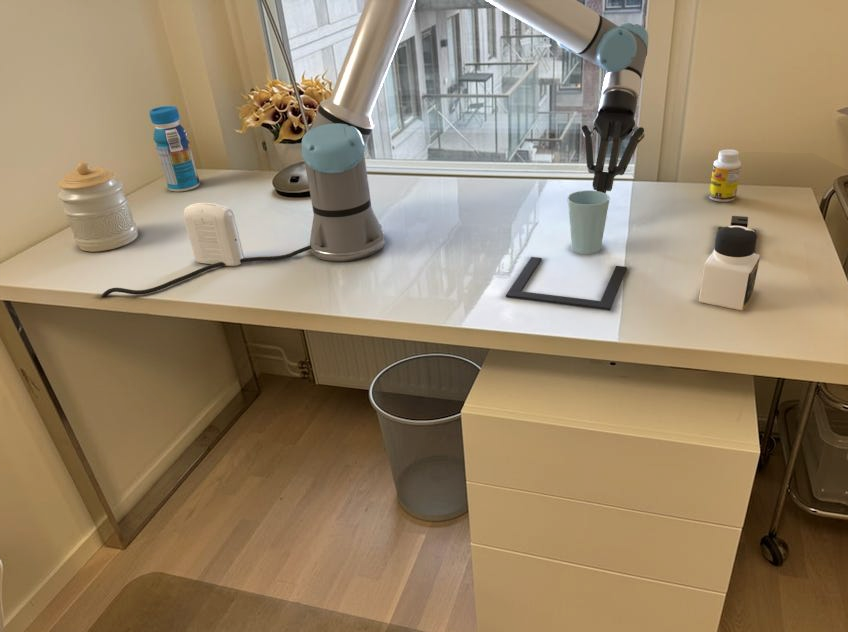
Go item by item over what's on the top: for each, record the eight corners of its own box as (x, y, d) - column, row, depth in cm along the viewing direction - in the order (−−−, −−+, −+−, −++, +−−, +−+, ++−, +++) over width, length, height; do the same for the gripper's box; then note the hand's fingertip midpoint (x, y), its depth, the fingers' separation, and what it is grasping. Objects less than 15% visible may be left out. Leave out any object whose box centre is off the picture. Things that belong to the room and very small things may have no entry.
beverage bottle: (162, 192, 182) (138, 113, 171) (177, 181, 188) (155, 105, 178) (192, 192, 180) (170, 112, 169) (206, 181, 187) (186, 104, 176)
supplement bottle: (703, 195, 155) (710, 149, 149) (727, 192, 156) (734, 146, 150) (716, 204, 150) (723, 157, 145) (740, 201, 151) (748, 154, 145)
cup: (601, 239, 139) (604, 188, 134) (610, 255, 133) (614, 202, 127) (563, 242, 139) (564, 192, 133) (571, 258, 133) (572, 206, 127)
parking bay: (531, 259, 134) (531, 256, 133) (626, 269, 127) (627, 266, 127) (505, 297, 121) (505, 294, 121) (609, 310, 115) (610, 308, 115)
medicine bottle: (743, 311, 112) (756, 242, 106) (698, 302, 116) (708, 235, 109) (753, 292, 117) (766, 225, 111) (709, 284, 120) (719, 218, 114)
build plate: (755, 258, 128) (759, 234, 126) (713, 254, 131) (716, 231, 128) (756, 231, 138) (760, 208, 135) (716, 228, 140) (720, 206, 137)
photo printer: (248, 258, 143) (234, 200, 136) (237, 268, 139) (221, 208, 132) (205, 255, 145) (189, 198, 139) (193, 264, 142) (176, 206, 135)
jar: (149, 237, 156) (124, 159, 146) (92, 258, 148) (62, 176, 139) (123, 225, 164) (98, 149, 154) (68, 243, 156) (37, 165, 146)
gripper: (652, 109, 146) (632, 214, 142) (590, 107, 151) (569, 209, 147) (650, 88, 139) (630, 198, 135) (585, 87, 144) (564, 194, 140)
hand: (598, 204), depth 141 cm, fingers closed
